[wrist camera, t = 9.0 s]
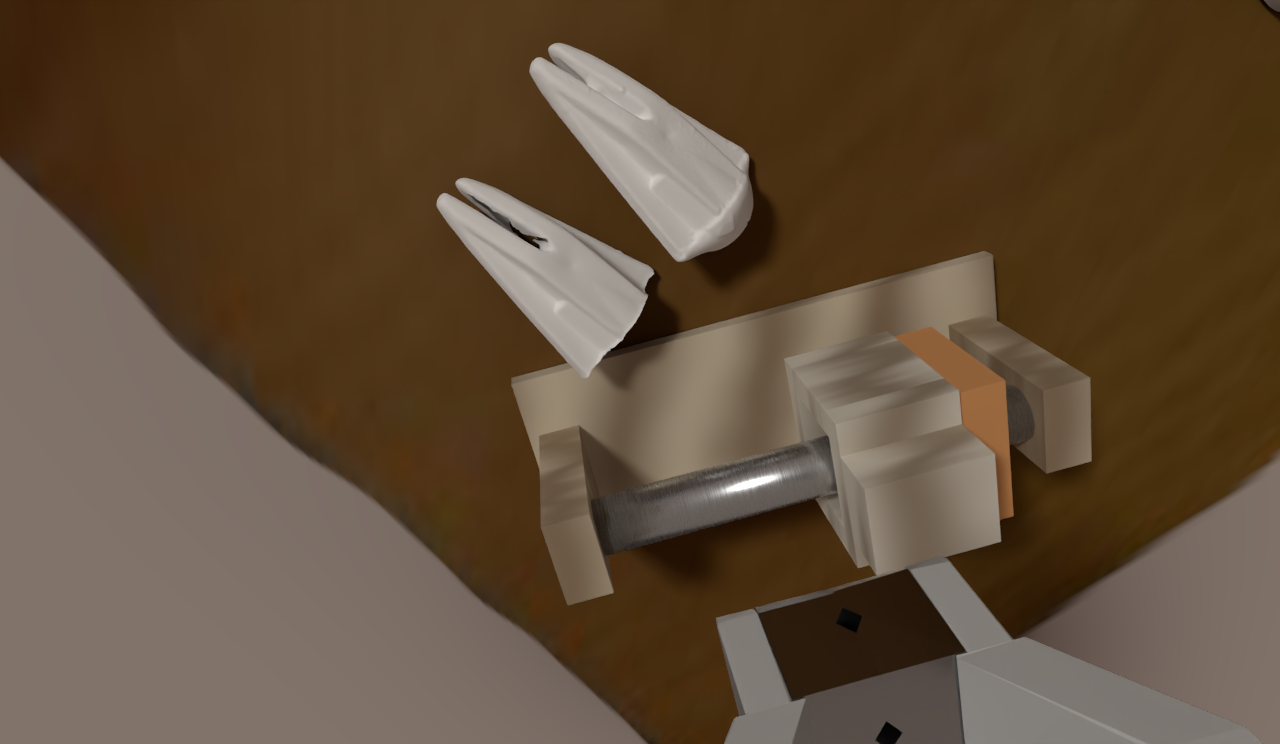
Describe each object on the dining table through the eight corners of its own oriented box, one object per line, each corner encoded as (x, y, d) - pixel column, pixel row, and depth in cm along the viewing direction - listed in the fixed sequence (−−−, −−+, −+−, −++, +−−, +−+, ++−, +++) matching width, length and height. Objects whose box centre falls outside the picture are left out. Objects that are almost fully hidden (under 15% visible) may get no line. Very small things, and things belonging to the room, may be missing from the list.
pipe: (1001, 374, 36) (1034, 398, 34) (1004, 425, 38) (1036, 452, 35) (588, 486, 36) (592, 519, 34) (603, 535, 37) (608, 570, 35)
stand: (984, 251, 40) (1101, 306, 32) (996, 426, 44) (1103, 516, 36) (511, 377, 40) (506, 467, 32) (566, 543, 44) (574, 662, 35)
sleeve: (887, 331, 38) (992, 418, 29) (902, 458, 41) (1003, 572, 32) (783, 358, 38) (859, 454, 29) (806, 484, 41) (881, 606, 32)
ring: (930, 326, 38) (1005, 380, 32) (942, 445, 41) (1013, 516, 35) (889, 337, 38) (956, 393, 32) (904, 456, 41) (968, 528, 35)
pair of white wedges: (770, 184, 38) (611, -16, 34) (795, 200, 34) (620, -23, 30) (579, 350, 40) (409, 179, 36) (582, 383, 36) (393, 195, 32)
